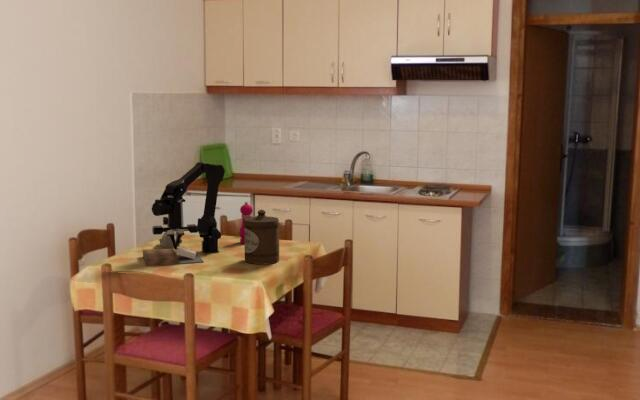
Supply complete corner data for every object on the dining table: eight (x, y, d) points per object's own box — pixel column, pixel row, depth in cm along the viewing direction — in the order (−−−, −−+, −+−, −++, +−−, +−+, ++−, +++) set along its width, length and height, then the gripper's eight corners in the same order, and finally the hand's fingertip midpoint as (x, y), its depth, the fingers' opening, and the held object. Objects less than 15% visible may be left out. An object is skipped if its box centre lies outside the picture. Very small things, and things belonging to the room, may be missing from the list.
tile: (192, 256, 320) (194, 250, 320) (194, 259, 314) (196, 253, 314) (174, 251, 317) (176, 245, 317) (176, 254, 312) (178, 248, 312)
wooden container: (240, 258, 319) (239, 208, 316) (272, 255, 325) (272, 206, 322) (250, 265, 305) (250, 213, 302) (284, 262, 311) (284, 211, 308)
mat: (197, 254, 325) (197, 253, 325) (203, 262, 310) (203, 261, 310) (174, 255, 322) (174, 255, 322) (179, 264, 307) (179, 263, 307)
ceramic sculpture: (155, 231, 332) (160, 227, 347) (155, 250, 333) (160, 245, 348) (179, 231, 333) (183, 227, 348) (179, 250, 333) (183, 245, 348)
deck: (173, 255, 324) (173, 248, 324) (178, 264, 307) (178, 257, 307) (143, 256, 320) (142, 250, 319) (146, 266, 303) (146, 258, 303)
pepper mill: (251, 244, 348) (251, 202, 345) (237, 243, 350) (236, 202, 347) (256, 241, 355) (255, 200, 352) (241, 240, 357) (241, 200, 354)
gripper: (194, 209, 323) (194, 244, 325) (150, 211, 317) (151, 246, 319) (197, 213, 313) (198, 249, 315) (153, 215, 307) (153, 251, 309)
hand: (175, 249), depth 315 cm, fingers closed
